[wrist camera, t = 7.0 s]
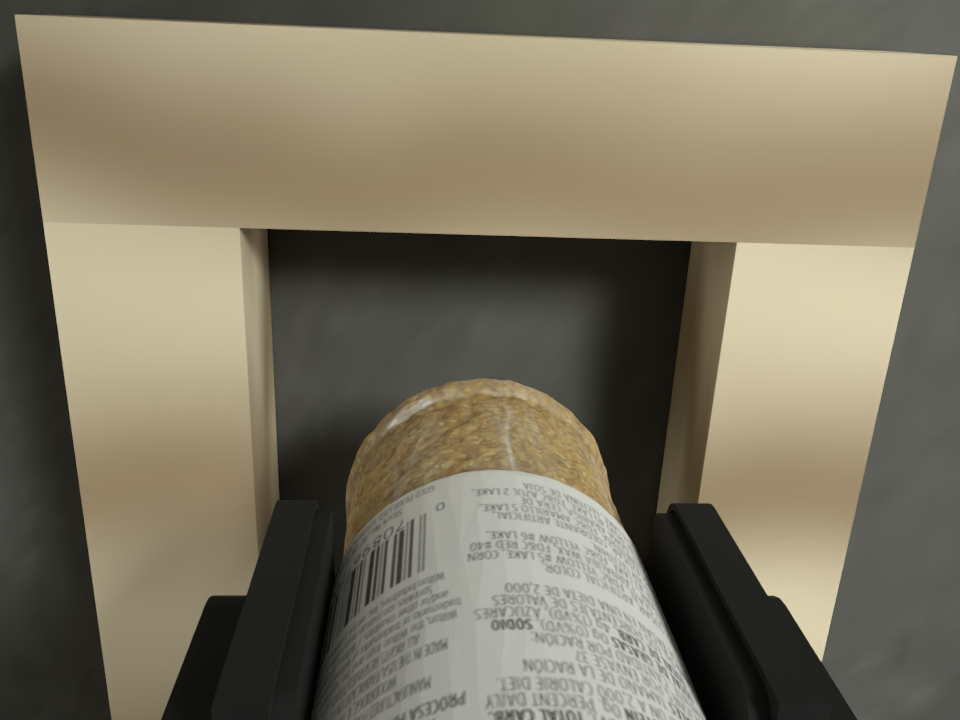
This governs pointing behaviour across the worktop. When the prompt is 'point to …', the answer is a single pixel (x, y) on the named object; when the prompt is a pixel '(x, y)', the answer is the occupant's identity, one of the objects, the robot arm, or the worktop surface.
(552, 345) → the worktop surface
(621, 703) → the spice jar
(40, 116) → the keyhole board
